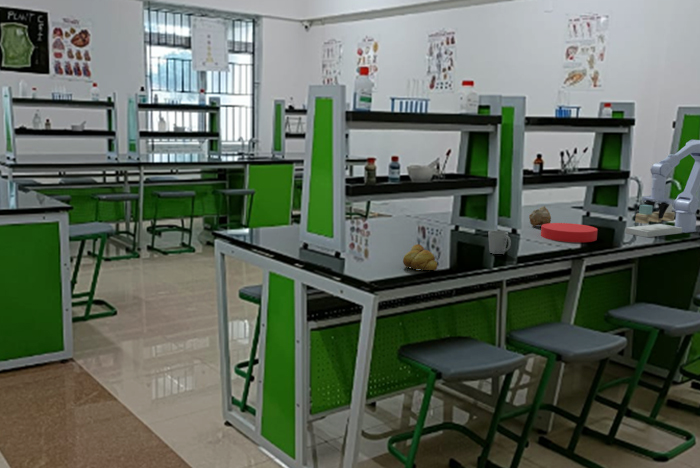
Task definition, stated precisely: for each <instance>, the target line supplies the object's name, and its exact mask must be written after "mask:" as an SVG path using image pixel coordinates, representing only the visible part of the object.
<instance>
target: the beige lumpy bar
mask: <svg viewBox="0 0 700 468" xmlns="http://www.w3.org/2000/svg"><path fill="white" fill-rule="evenodd" d="M675 216H676V212H675V211H673V212H671V213H664V216H663V218H661V219H659V211H653V212H652V214H650V215H645V214H639V212H638V213H635V221H634V223H639V224H644V225H645V224H646V225H648V224H649V223H650V222H653V223H662V222H663V221H667V222H674V221H675Z"/></svg>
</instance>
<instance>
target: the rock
mask: <svg viewBox="0 0 700 468" xmlns="http://www.w3.org/2000/svg"><path fill="white" fill-rule="evenodd" d="M528 217H529V223H530V225H532V226H533V227H538V226H542V225H543V224H548V223H552V221H551V220H552V216H551V214H550V212H549V210H548V209H547V207H546V206H541V207H540V208H539V209H534V210H533V211H532V212H531V213H530V214H529V216H528Z"/></svg>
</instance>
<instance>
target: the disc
mask: <svg viewBox="0 0 700 468" xmlns="http://www.w3.org/2000/svg"><path fill="white" fill-rule="evenodd" d="M540 226H541V225H540ZM540 229H541V230H540V236H541V238H544V239H548V240H550V239H551V241H558V242H564V243H565V242H566V243H592V242H595V241H597V239H598V228H597V227H595V226H591V225H587V224H586V225H585V224H581V223H580V224H578V223H572V222H571V223H568V222H567V223H566V222H550V223H548V224H543V225H542V226H541V228H540Z"/></svg>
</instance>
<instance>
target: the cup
mask: <svg viewBox="0 0 700 468" xmlns="http://www.w3.org/2000/svg"><path fill="white" fill-rule="evenodd" d="M507 242H508V243H507ZM488 246H489V247H488V250H489V254H490V253H494V254H503V255H505V253H506V252H508V251H509V250H510V249H511V246H512V240H511V237H510V236H509V232H508V231H505V230H504V231H503V230H489V231H488Z"/></svg>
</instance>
